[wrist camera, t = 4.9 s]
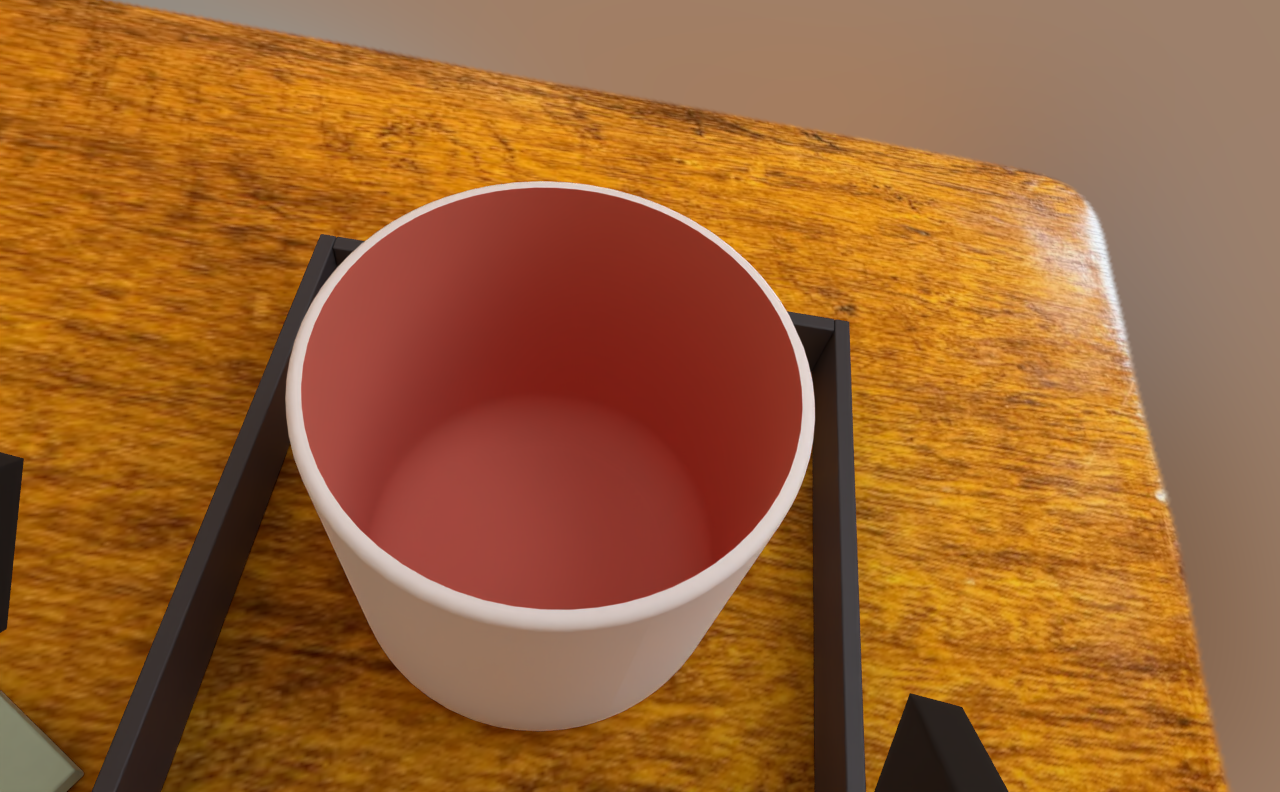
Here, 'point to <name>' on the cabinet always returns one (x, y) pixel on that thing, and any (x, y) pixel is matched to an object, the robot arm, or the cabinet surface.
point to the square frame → (250, 478)
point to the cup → (547, 442)
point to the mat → (31, 755)
